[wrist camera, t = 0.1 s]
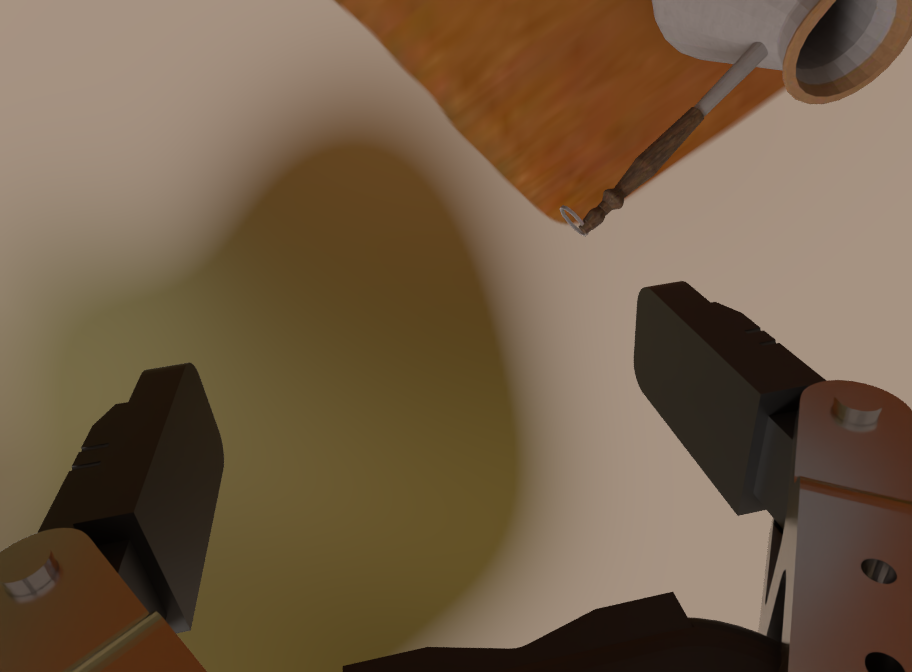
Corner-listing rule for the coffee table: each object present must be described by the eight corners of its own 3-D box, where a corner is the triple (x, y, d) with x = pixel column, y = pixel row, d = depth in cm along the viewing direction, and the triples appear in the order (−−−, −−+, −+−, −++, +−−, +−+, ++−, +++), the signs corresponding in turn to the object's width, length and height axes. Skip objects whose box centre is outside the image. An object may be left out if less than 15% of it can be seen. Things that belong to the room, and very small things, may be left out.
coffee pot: (813, -234, 32) (1042, -151, 23) (829, -33, 41) (1002, 88, 31) (459, 19, 38) (527, 166, 29) (537, 148, 47) (609, 294, 37)
